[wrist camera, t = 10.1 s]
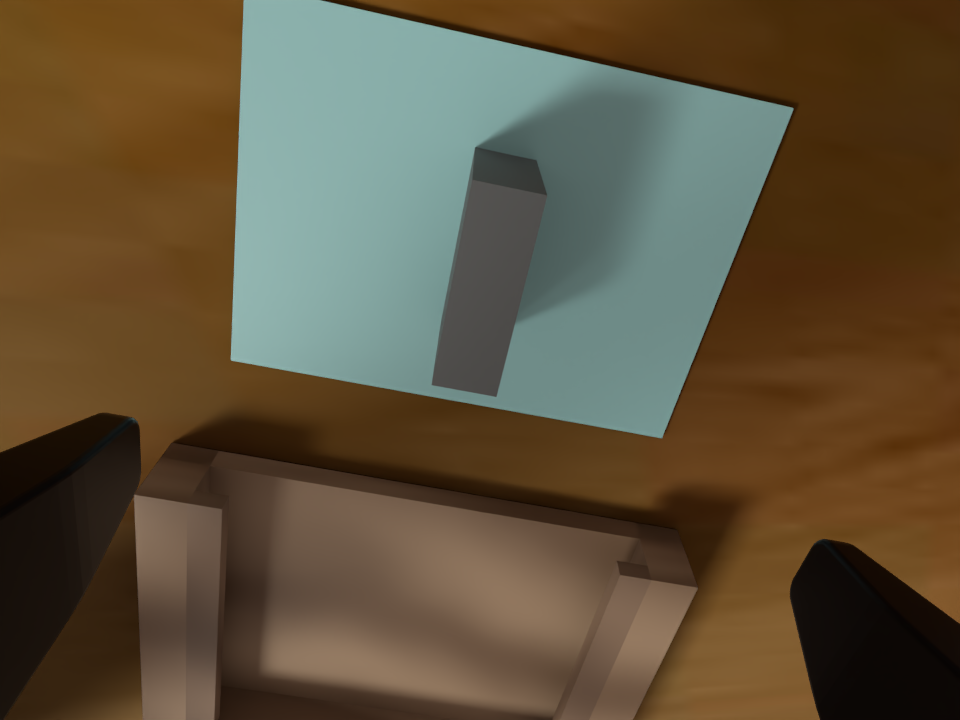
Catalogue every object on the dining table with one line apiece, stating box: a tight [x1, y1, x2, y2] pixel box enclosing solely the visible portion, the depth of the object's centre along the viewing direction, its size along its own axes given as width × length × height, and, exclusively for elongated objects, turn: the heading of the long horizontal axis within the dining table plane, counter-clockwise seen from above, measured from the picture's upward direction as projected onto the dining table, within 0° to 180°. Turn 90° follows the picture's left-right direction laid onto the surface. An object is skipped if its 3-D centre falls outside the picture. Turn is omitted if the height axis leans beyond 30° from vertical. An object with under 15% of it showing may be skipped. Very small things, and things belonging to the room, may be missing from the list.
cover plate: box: [231, 0, 794, 438], centre depth 17 cm, size 10×13×4 cm
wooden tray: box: [134, 443, 698, 720], centre depth 24 cm, size 12×17×3 cm
